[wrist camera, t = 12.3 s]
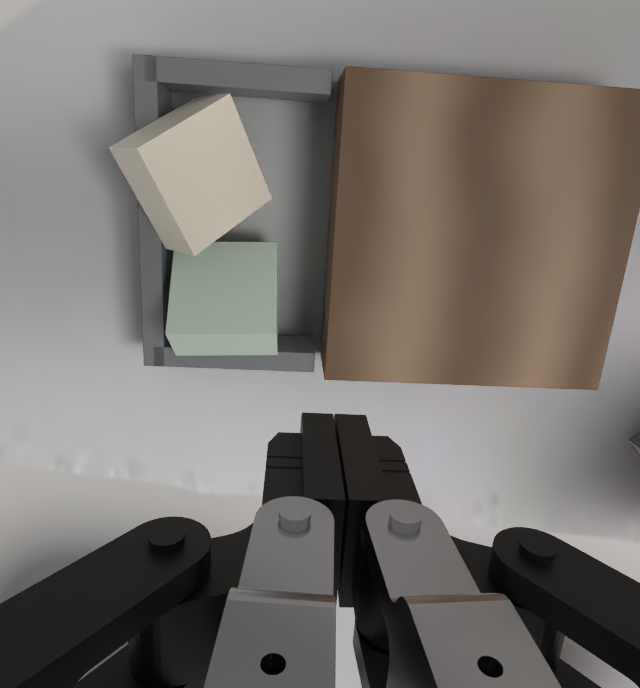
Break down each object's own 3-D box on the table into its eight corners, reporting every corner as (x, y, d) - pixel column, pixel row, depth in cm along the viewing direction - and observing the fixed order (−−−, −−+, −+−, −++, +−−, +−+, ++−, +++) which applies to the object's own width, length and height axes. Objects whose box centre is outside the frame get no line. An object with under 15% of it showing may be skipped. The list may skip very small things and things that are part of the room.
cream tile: (197, 95, 25) (229, 93, 23) (240, 194, 28) (272, 198, 26) (108, 147, 23) (137, 148, 21) (165, 248, 26) (194, 256, 24)
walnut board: (614, 101, 28) (666, 91, 24) (560, 363, 32) (597, 389, 28) (338, 81, 27) (346, 66, 23) (320, 353, 31) (324, 379, 27)
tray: (327, 80, 27) (332, 69, 24) (311, 353, 31) (313, 372, 28) (149, 66, 26) (132, 54, 23) (157, 346, 30) (143, 365, 27)
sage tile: (278, 269, 29) (277, 242, 27) (277, 355, 27) (276, 333, 25) (183, 268, 29) (174, 241, 27) (176, 355, 27) (165, 334, 25)
